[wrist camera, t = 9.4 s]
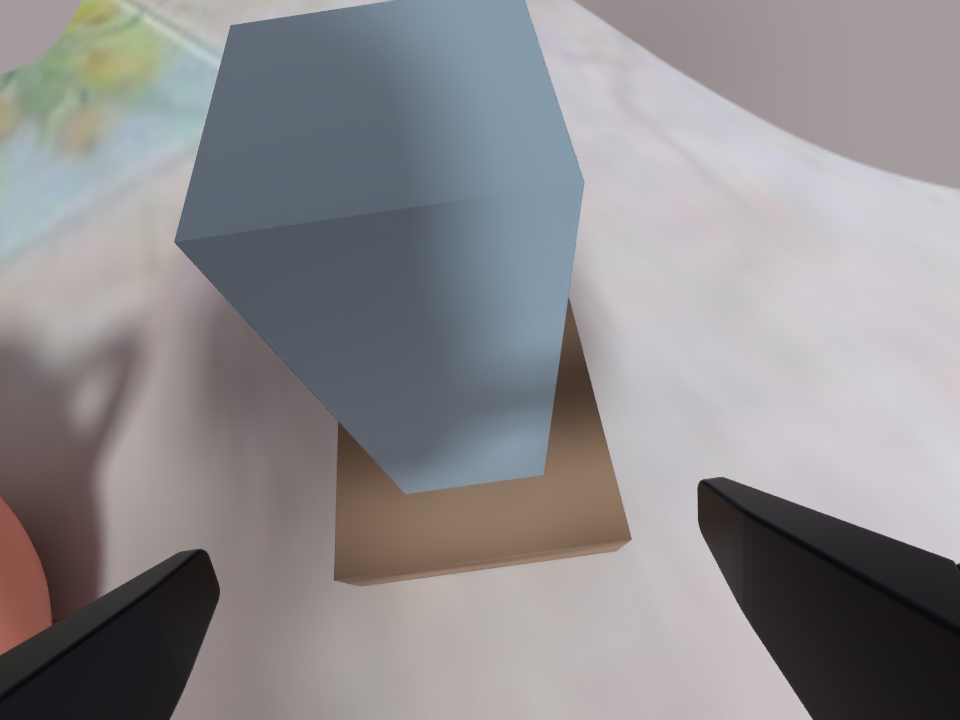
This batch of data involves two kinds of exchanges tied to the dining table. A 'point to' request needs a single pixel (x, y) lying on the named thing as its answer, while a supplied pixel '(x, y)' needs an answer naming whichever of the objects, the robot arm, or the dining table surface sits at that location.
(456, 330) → the blue block
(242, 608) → the dining table surface
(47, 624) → the teapot
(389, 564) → the walnut base
